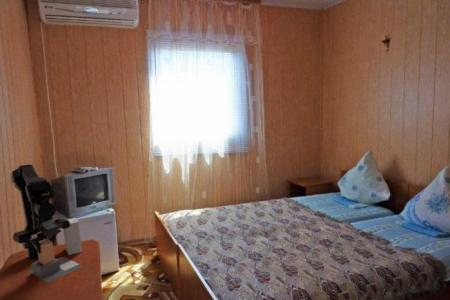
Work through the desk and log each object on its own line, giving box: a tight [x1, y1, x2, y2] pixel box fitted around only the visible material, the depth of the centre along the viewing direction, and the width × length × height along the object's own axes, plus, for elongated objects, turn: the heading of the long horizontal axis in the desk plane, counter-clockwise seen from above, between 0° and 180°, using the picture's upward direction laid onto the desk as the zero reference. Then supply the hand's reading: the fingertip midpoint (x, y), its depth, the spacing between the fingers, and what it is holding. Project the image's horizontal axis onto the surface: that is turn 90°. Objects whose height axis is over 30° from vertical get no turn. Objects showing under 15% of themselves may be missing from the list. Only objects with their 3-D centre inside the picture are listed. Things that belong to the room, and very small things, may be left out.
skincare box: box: [63, 217, 83, 256], centre depth 138 cm, size 8×6×15 cm
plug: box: [38, 238, 55, 265], centre depth 120 cm, size 4×4×9 cm
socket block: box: [27, 256, 84, 284], centre depth 123 cm, size 16×14×5 cm
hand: (45, 250), depth 120 cm, fingers closed on plug, 4 cm apart
